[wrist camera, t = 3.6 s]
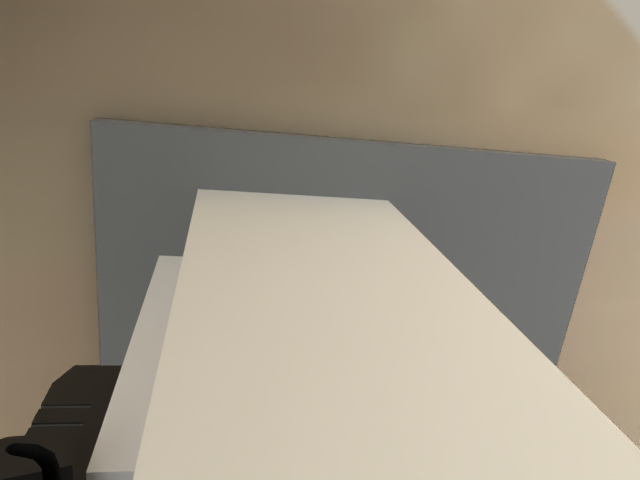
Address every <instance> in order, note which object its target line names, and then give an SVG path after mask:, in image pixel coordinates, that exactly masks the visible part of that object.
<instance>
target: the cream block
mask: <svg viewBox="0 0 640 480" xmlns="http://www.w3.org/2000/svg"><path fill="white" fill-rule="evenodd" d="M133 480H640V449H639V448H638V447H637V446H636V445H635V444H634V443H633V442H632V441H631V440H630V439H629V438H628V437H627V436H626V435H625V434H624V433H623V432H622V431H621V430H620V429H619V428H618V427H617V426H616V425H615V424H614V423H613V422H612V421H611V420H610V419H609V418H608V417H607V416H606V415H605V414H604V413H603V412H602V411H600V410H599V409H598V408H597V407H596V406H595V405H594V404H593V403H592V402H591V401H590V400H589V399H588V398H587V397H586V396H585V395H584V394H583V393H582V392H581V391H580V390H579V389H578V388H577V387H576V386H575V385H574V384H573V383H572V382H571V381H570V380H569V379H568V378H567V377H566V376H565V375H564V374H563V373H562V372H561V371H560V370H559V369H558V368H557V367H556V366H555V365H554V364H553V363H552V362H551V361H550V360H549V359H548V358H547V357H546V356H545V355H544V354H543V353H542V352H541V351H540V350H539V349H538V348H537V347H536V346H535V345H534V344H533V343H532V342H531V341H530V340H529V339H528V338H527V337H526V336H525V335H524V334H523V333H522V332H521V331H520V330H519V329H518V328H517V327H516V326H515V325H514V324H513V323H512V322H511V321H510V320H509V319H508V318H507V317H506V316H505V315H503V314H502V313H501V312H500V311H499V310H498V309H497V308H496V307H495V306H494V305H493V304H492V303H491V302H490V301H489V300H488V299H487V298H486V297H485V296H484V295H483V294H482V293H481V292H480V291H479V290H478V289H477V288H476V287H475V286H474V285H473V284H472V283H471V282H470V281H469V280H468V279H467V278H466V277H465V276H464V275H463V274H462V273H461V272H460V271H459V270H458V269H457V268H456V267H455V266H454V265H453V264H452V263H451V262H450V261H449V260H448V259H447V258H446V257H445V256H444V255H443V254H442V253H441V252H440V251H439V250H438V249H437V248H436V247H435V246H434V245H433V244H432V243H431V242H430V241H429V240H428V239H427V238H426V237H425V236H424V235H423V234H422V233H421V232H420V231H419V230H418V229H417V228H416V227H415V226H414V225H413V224H412V223H411V222H410V221H409V220H408V219H406V218H405V217H404V216H403V215H402V214H401V213H400V212H399V211H398V210H397V209H396V208H395V207H394V206H393V205H392V204H391V203H390V202H389V201H388V200H374V199H357V198H340V197H323V196H307V195H290V194H273V193H257V192H240V191H223V190H206V189H198V191H197V196H196V200H195V205H194V209H193V214H192V218H191V223H190V227H189V231H188V236H187V240H186V245H185V249H184V254H183V258H182V263H181V267H180V271H179V276H178V280H177V285H176V289H175V294H174V298H173V303H172V307H171V312H170V316H169V320H168V325H167V329H166V334H165V338H164V343H163V347H162V352H161V356H160V360H159V365H158V369H157V374H156V378H155V383H154V387H153V392H152V396H151V401H150V405H149V409H148V414H147V418H146V423H145V427H144V432H143V436H142V441H141V445H140V449H139V454H138V458H137V463H136V467H135V472H134V476H133Z"/></svg>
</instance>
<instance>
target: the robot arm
mask: <svg viewBox="0 0 640 480" xmlns="http://www.w3.org/2000/svg"><path fill="white" fill-rule="evenodd" d="M182 258H183V256H159V258H158V261H157V264H156V267H155V270H154V273H153V276H152V279H151V281H150V284H149V287H148V290H147V293H146V296H145V299H144V302H143V305H142V308H141V311H140V314H139V317H138V320H137V323H136V326H135V329H134V332H133V335H132V338H131V341H130V344H129V347H128V350H127V353H126V356H125V359H124V362H123V365H75V366H73V367H72V368H71V369H70V370H68V371H67V372H66V373H65V374H63V375H62V376H61V377H60V378H59V379H57V380H56V381H55V382H54V383H52V385H51V387H50V389H49V391H48V393H47V395H46V397H45V399H44V400H43V402H42V404H41V409H39V410H38V412H37V414H36V416H35V418H34V420H33V421H32V425H31V428H29V429H28V431H27V433H26V435H25V436H14V437H6V438H3V439H0V480H133V476H134V472H135V467H136V463H137V458H138V454H139V449H140V445H141V441H142V436H143V432H144V427H145V423H146V418H147V414H148V409H149V405H150V401H151V396H152V392H153V387H154V383H155V378H156V374H157V369H158V365H159V360H160V356H161V352H162V347H163V343H164V338H165V334H166V329H167V325H168V320H169V316H170V312H171V307H172V303H173V298H174V294H175V289H176V285H177V280H178V276H179V271H180V267H181V263H182Z"/></svg>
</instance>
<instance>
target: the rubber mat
mask: <svg viewBox="0 0 640 480" xmlns="http://www.w3.org/2000/svg"><path fill="white" fill-rule="evenodd" d="M90 125H91V149H92V173H93V197H94V221H95V245H96V269H97V293H98V318H99V342H100V365H123V362H124V359H125V356H126V353H127V350H128V347H129V344H130V341H131V338H132V335H133V332H134V329H135V326H136V323H137V320H138V317H139V314H140V311H141V308H142V305H143V302H144V299H145V296H146V293H147V290H148V287H149V284H150V281H151V279H152V276H153V273H154V270H155V267H156V264H157V261H158V258H159V256H183V254H184V249H185V245H186V240H187V236H188V231H189V227H190V223H191V218H192V214H193V209H194V205H195V200H196V196H197V191H198V189H206V190H223V191H240V192H257V193H273V194H290V195H307V196H323V197H340V198H357V199H374V200H388V201H389V202H390V203H391V204H392V205H393V206H394V207H395V208H396V209H397V210H398V211H399V212H400V213H401V214H402V215H403V216H404V217H405V218H406V219H408V220H409V221H410V222H411V223H412V224H413V225H414V226H415V227H416V228H417V229H418V230H419V231H420V232H421V233H422V234H423V235H424V236H425V237H426V238H427V239H428V240H429V241H430V242H431V243H432V244H433V245H434V246H435V247H436V248H437V249H438V250H439V251H440V252H441V253H442V254H443V255H444V256H445V257H446V258H447V259H448V260H449V261H450V262H451V263H452V264H453V265H454V266H455V267H456V268H457V269H458V270H459V271H460V272H461V273H462V274H463V275H464V276H465V277H466V278H467V279H468V280H469V281H470V282H471V283H472V284H473V285H474V286H475V287H476V288H477V289H478V290H479V291H480V292H481V293H482V294H483V295H484V296H485V297H486V298H487V299H488V300H489V301H490V302H491V303H492V304H493V305H494V306H495V307H496V308H497V309H498V310H499V311H500V312H501V313H502V314H503V315H505V316H506V317H507V318H508V319H509V320H510V321H511V322H512V323H513V324H514V325H515V326H516V327H517V328H518V329H519V330H520V331H521V332H522V333H523V334H524V335H525V336H526V337H527V338H528V339H529V340H530V341H531V342H532V343H533V344H534V345H535V346H536V347H537V348H538V349H539V350H540V351H541V352H542V353H543V354H544V355H545V356H546V357H547V358H548V359H549V360H550V361H551V362H552V363H553V364H554V365H555V366H556V365H557V361H558V358H559V355H560V351H561V348H562V345H563V341H564V338H565V334H566V331H567V328H568V324H569V321H570V317H571V314H572V311H573V307H574V304H575V301H576V297H577V294H578V290H579V287H580V284H581V280H582V277H583V273H584V270H585V267H586V263H587V260H588V257H589V253H590V250H591V246H592V243H593V240H594V236H595V233H596V229H597V226H598V223H599V219H600V216H601V213H602V209H603V206H604V202H605V199H606V196H607V192H608V189H609V185H610V182H611V179H612V175H613V172H614V169H615V165H616V163H615V162H612V161H609V160H605V159H595V158H583V157H571V156H558V155H546V154H534V153H521V152H509V151H497V150H485V149H472V148H460V147H448V146H435V145H423V144H411V143H399V142H386V141H374V140H362V139H349V138H337V137H325V136H313V135H300V134H288V133H276V132H263V131H251V130H239V129H226V128H214V127H202V126H190V125H177V124H165V123H153V122H140V121H128V120H116V119H104V118H94V119H92V120H91V121H90Z"/></svg>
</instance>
